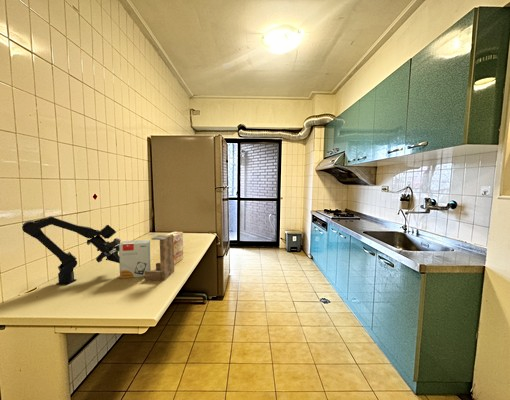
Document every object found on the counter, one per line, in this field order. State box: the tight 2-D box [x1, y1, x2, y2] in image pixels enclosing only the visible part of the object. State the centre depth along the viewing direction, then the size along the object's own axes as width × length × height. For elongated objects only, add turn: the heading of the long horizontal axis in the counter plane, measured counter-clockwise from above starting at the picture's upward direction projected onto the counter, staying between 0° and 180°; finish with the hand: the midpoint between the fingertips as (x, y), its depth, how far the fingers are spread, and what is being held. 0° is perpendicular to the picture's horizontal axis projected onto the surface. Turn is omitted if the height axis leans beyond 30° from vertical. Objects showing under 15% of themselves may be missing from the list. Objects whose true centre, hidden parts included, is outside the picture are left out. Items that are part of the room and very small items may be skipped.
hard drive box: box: [118, 239, 152, 279], centre depth 141 cm, size 16×8×20 cm, turn 105°
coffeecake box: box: [166, 231, 184, 265], centre depth 165 cm, size 15×7×20 cm, turn 168°
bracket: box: [144, 234, 175, 282], centre depth 140 cm, size 14×11×23 cm
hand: (120, 262), depth 143 cm, fingers closed
